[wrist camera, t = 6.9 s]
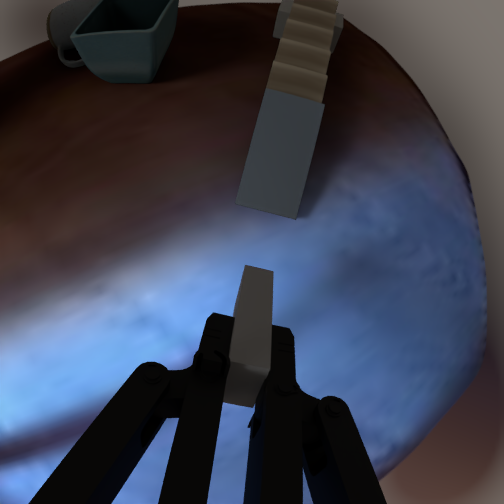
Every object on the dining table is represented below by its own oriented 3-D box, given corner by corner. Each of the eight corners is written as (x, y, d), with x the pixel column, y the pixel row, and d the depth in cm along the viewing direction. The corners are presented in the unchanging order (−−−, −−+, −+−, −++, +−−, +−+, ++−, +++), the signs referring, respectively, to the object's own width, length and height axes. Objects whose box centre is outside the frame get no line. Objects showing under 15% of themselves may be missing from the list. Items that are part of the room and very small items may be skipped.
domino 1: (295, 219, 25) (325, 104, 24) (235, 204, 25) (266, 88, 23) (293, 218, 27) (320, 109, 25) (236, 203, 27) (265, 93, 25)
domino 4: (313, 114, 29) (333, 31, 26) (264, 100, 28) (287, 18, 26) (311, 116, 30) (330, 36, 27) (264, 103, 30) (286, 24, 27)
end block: (332, 53, 34) (342, 28, 30) (272, 36, 34) (278, 10, 29) (334, 38, 35) (343, 14, 31) (277, 23, 35) (283, -2, 30)
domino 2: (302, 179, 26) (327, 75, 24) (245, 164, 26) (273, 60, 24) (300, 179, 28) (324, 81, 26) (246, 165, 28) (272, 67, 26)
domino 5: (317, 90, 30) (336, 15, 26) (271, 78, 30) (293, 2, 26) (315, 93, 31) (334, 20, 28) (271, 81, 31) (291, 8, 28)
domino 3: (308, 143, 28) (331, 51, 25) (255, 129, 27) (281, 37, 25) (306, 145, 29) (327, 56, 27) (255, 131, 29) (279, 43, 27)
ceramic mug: (64, 35, 31) (51, -3, 24) (116, 19, 33) (107, -21, 25) (52, 79, 29) (32, 37, 22) (111, 60, 30) (98, 14, 23)
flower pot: (183, 48, 32) (181, -12, 23) (164, 97, 29) (154, 30, 20) (117, 48, 31) (104, -7, 22) (90, 96, 28) (67, 37, 20)
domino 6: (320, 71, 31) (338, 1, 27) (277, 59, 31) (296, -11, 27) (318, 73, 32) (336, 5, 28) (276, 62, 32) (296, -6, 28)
